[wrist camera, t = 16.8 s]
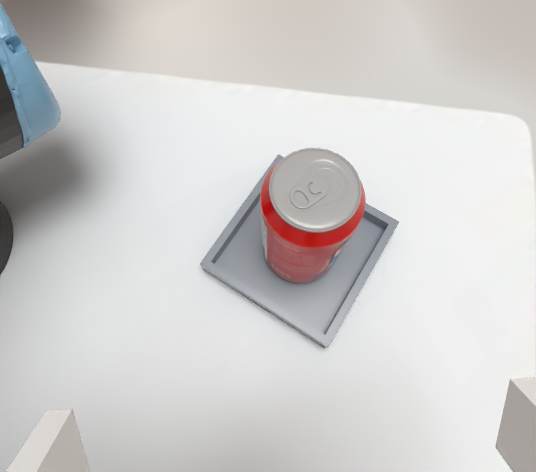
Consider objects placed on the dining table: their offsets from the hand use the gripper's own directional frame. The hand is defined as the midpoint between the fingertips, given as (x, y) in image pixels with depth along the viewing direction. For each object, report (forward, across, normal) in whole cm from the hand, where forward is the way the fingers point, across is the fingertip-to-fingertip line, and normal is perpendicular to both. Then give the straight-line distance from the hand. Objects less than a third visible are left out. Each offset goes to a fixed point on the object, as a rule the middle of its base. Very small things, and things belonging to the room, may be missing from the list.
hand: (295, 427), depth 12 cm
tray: (+29, +4, -6) cm, 30 cm away
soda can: (+29, +4, -6) cm, 30 cm away
